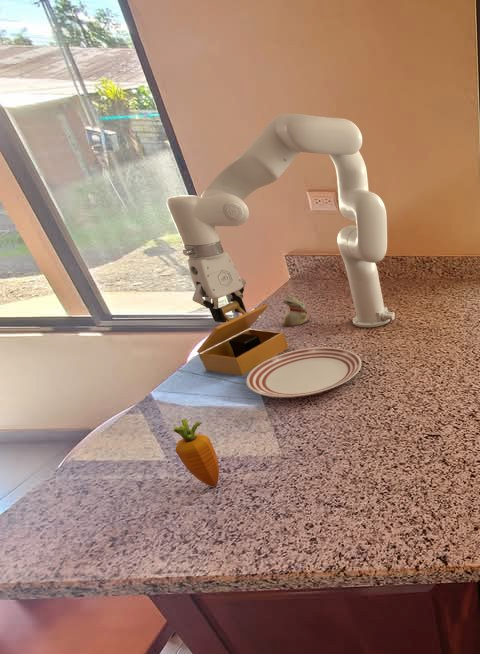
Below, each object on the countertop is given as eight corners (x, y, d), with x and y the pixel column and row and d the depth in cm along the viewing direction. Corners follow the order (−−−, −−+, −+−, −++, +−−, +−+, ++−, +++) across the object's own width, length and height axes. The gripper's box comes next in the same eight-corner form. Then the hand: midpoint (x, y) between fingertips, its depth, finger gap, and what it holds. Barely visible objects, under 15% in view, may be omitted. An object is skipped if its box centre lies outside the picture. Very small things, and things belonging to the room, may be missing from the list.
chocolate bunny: (308, 324, 144) (300, 296, 139) (283, 327, 142) (273, 298, 137) (309, 318, 149) (301, 290, 143) (284, 321, 146) (275, 293, 141)
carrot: (208, 477, 82) (174, 414, 74) (235, 476, 82) (204, 413, 74) (193, 496, 78) (155, 432, 70) (221, 495, 78) (187, 430, 70)
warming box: (289, 349, 128) (283, 332, 125) (243, 377, 114) (236, 359, 111) (255, 345, 130) (249, 328, 127) (206, 372, 116) (198, 353, 113)
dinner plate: (339, 346, 130) (336, 337, 129) (380, 380, 114) (378, 369, 112) (237, 377, 114) (233, 366, 112) (269, 421, 97) (264, 409, 96)
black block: (265, 355, 123) (257, 335, 120) (252, 363, 119) (243, 342, 115) (250, 353, 124) (242, 333, 120) (236, 361, 120) (228, 340, 116)
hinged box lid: (268, 305, 121) (253, 290, 119) (217, 329, 107) (199, 312, 105) (249, 327, 127) (234, 313, 125) (198, 353, 113) (180, 337, 111)
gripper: (186, 259, 98) (216, 331, 107) (244, 243, 112) (266, 307, 121) (159, 257, 99) (191, 328, 108) (221, 241, 113) (244, 304, 123)
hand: (231, 316), depth 115 cm, fingers closed on hinged box lid, 6 cm apart
